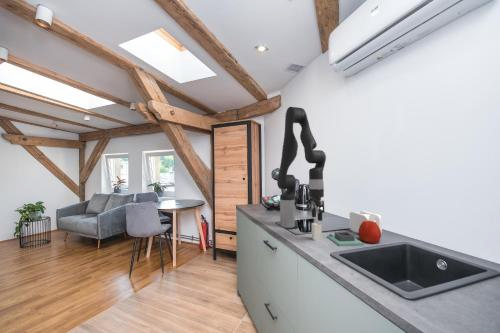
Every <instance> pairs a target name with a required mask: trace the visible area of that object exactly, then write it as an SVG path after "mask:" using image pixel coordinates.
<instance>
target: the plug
mask: <svg viewBox="0 0 500 333" xmlns="http://www.w3.org/2000/svg"><path fill="white" fill-rule="evenodd" d="M322 228H323V225H322V223H320V222H319V221H318V222H311V239H312V240H313V241H322V240H323V229H322Z"/></svg>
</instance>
